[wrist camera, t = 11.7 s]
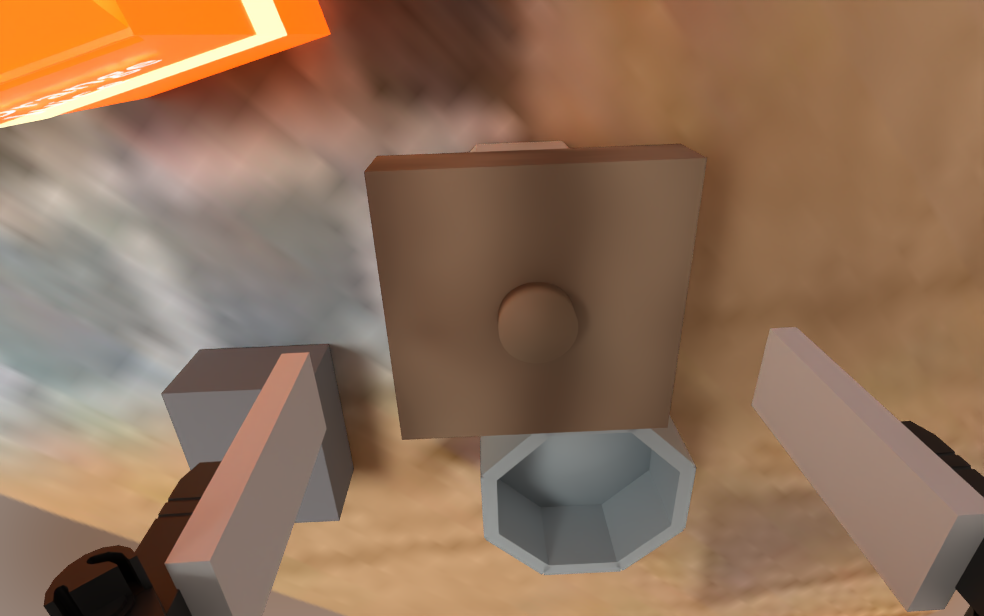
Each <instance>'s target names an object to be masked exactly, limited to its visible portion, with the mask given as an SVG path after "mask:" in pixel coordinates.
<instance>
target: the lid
mask: <svg viewBox="0 0 984 616" xmlns="http://www.w3.org/2000/svg"><path fill="white" fill-rule="evenodd" d="M706 162H707V158H706V157H704V156H702V155H701V154H699V153H697V152H695V151H693V150H691V149H689V148H687V147H686V146H684V145H682V144H663V145H638V146H613V147H589V148H564V149H539V150H514V151H490V152H465V153H440V154H415V155H390V156H377V157H376V158H375V159H374V160H373V162H372V163H371V164H370V165H369V167H368V168H367V169H366V170H365V171H364V174H365V181H366V188H367V196H368V203H369V210H370V217H371V224H372V231H373V238H374V245H375V252H376V259H377V266H378V273H379V280H380V287H381V294H382V301H383V308H384V315H385V322H386V329H387V336H388V343H389V350H390V357H391V364H392V372H393V379H394V386H395V393H396V400H397V407H398V414H399V421H400V428H401V435H402V440H409V439H431V438H453V437H475V436H497V435H519V434H541V433H563V432H585V431H607V430H629V429H651V428H668V422H669V415H670V408H671V401H672V394H673V387H674V381H675V374H676V367H677V360H678V353H679V347H680V340H681V333H682V326H683V319H684V312H685V306H686V299H687V292H688V285H689V278H690V271H691V265H692V258H693V251H694V244H695V237H696V230H697V224H698V217H699V210H700V203H701V196H702V189H703V183H704V176H705V169H706Z"/></svg>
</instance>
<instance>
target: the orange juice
mask: <svg viewBox="0 0 984 616" xmlns="http://www.w3.org/2000/svg"><path fill="white" fill-rule="evenodd" d="M330 34H331V33H330V31H329V28H328V26H327V23H326V21H325V18H324V15H323V13H322V10H321V8H320V5H319V3H318V0H0V128H2V127H7V126H12V125H17V124H22V123H27V122H32V121H37V120H42V119H47V118H51V117H54V116H57V115H61V114H66V113H71V112H76V111H81V110H86V109H92V108H97V107H102V106H107V105H112V104H117V103H122V102H127V101H133V100H138V99H143V98H147V97H150V96H153V95H156V94H159V93H162V92H165V91H168V90H171V89H173V88H176V87H179V86H182V85H185V84H188V83H191V82H194V81H197V80H200V79H202V78H205V77H208V76H211V75H214V74H217V73H220V72H223V71H226V70H229V69H231V68H234V67H237V66H240V65H243V64H246V63H249V62H252V61H255V60H258V59H260V58H263V57H266V56H269V55H272V54H275V53H278V52H281V51H284V50H287V49H289V48H292V47H295V46H298V45H301V44H304V43H307V42H310V41H313V40H316V39H318V38H321V37H324V36H327V35H330Z"/></svg>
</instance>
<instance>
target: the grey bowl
mask: <svg viewBox="0 0 984 616" xmlns="http://www.w3.org/2000/svg"><path fill="white" fill-rule="evenodd" d="M480 463H481V492H482V509H483V526H484V538H485V540H487V541H489V542H490V543H492V544H493V545H495V546H497V547H498V548H500V549H501V550H503V551H505V552H506V553H508V554H510V555H511V556H513V557H514V558H516V559H518V560H519V561H521V562H522V563H524V564H526V565H527V566H529V567H530V568H532V569H534V570H535V571H537V572H539V573H540V574H543V573H544V575H555V574H576V573H597V572H617V571H621V570H624V569H626V568H627V567H629V566H630V565H632V564H634V563H635V562H637V561H638V560H640V559H641V558H643V557H644V556H646V555H647V554H649V553H650V552H652V551H653V550H655V549H656V548H658V547H659V546H661V545H662V544H664V543H665V542H667V541H668V540H670V539H671V538H673V537H674V536H676V535H677V534H679V533H680V532H682V531H683V530H684V529H683V528H685V526H686V521H687V515H688V510H689V505H690V499H691V494H692V488H693V483H694V478H695V472H696V466H695V464H694V462H693V460H692V458H691V456H690V454H689V452H688V450H687V448H686V446H685V444H684V442H683V440H682V438H681V436H680V434H679V432H678V430H677V428H676V426H675V424H674V422H673V421H672V419H671V417H670V415H669V422H668V428H651V429H629V430H607V431H585V432H563V433H541V434H519V435H497V436H480Z"/></svg>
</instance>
